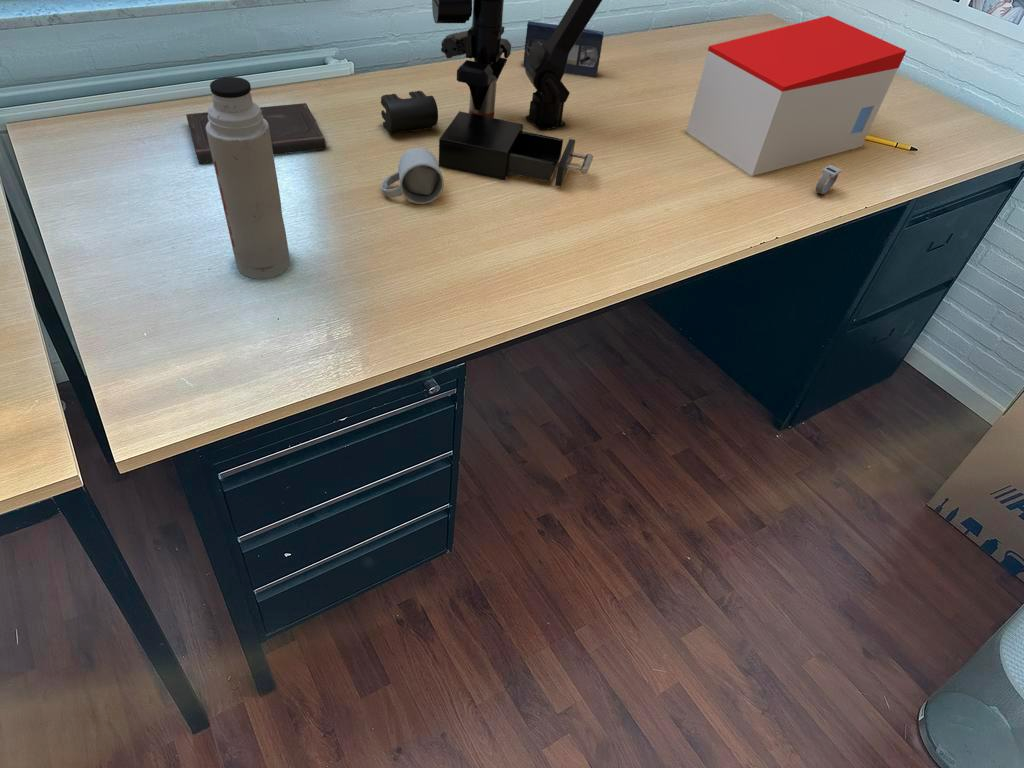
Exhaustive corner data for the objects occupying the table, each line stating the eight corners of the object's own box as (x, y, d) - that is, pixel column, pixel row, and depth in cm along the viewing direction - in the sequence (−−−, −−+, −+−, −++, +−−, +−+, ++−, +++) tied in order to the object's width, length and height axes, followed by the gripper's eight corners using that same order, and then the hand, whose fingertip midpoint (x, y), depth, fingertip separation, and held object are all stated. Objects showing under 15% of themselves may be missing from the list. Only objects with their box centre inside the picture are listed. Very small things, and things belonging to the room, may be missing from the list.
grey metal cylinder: (485, 117, 153) (488, 70, 146) (498, 128, 150) (501, 81, 143) (464, 121, 151) (466, 74, 144) (476, 132, 148) (478, 84, 141)
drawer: (593, 163, 141) (596, 144, 138) (582, 191, 133) (586, 171, 130) (512, 147, 143) (514, 127, 140) (497, 173, 135) (499, 153, 132)
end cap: (391, 140, 142) (390, 107, 137) (379, 125, 146) (378, 92, 142) (438, 134, 146) (438, 101, 141) (425, 119, 150) (425, 87, 145)
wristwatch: (823, 184, 145) (833, 162, 142) (835, 190, 144) (845, 167, 141) (808, 194, 142) (818, 171, 139) (820, 199, 141) (831, 177, 137)
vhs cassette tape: (522, 66, 175) (526, 23, 168) (524, 62, 177) (528, 19, 170) (596, 78, 174) (603, 35, 167) (597, 73, 176) (604, 31, 169)
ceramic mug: (437, 180, 133) (437, 141, 127) (443, 203, 127) (444, 164, 122) (379, 182, 131) (377, 143, 125) (383, 206, 125) (381, 166, 120)
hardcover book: (188, 125, 139) (185, 114, 138) (307, 113, 147) (306, 102, 145) (199, 165, 129) (196, 153, 128) (326, 150, 137) (324, 138, 136)
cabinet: (520, 151, 144) (523, 123, 140) (504, 180, 135) (507, 152, 131) (458, 138, 145) (459, 111, 141) (438, 166, 137) (439, 138, 133)
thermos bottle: (231, 278, 107) (189, 94, 88) (241, 247, 113) (203, 68, 93) (286, 279, 108) (256, 98, 89) (293, 249, 114) (266, 72, 94)
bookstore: (862, 146, 160) (907, 50, 145) (751, 176, 145) (789, 72, 130) (794, 107, 172) (829, 15, 157) (685, 131, 157) (712, 32, 142)
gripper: (461, 0, 144) (458, 78, 155) (431, 30, 130) (430, 113, 141) (514, 10, 142) (508, 88, 153) (489, 41, 129) (484, 124, 140)
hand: (482, 102), depth 147 cm, fingers open, 7 cm apart
